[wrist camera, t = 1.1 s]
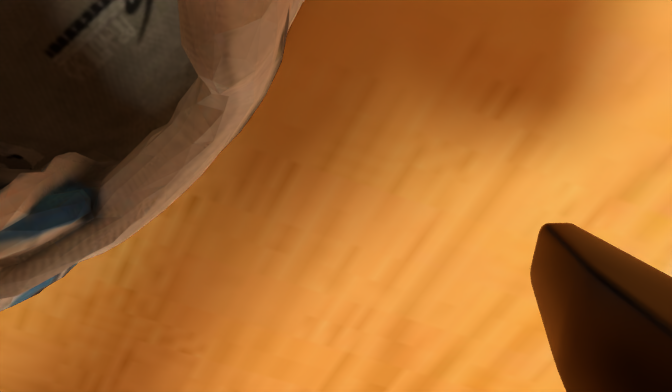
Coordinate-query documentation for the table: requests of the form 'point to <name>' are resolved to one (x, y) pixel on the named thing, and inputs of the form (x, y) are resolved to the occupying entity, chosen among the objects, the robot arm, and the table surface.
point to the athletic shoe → (117, 117)
